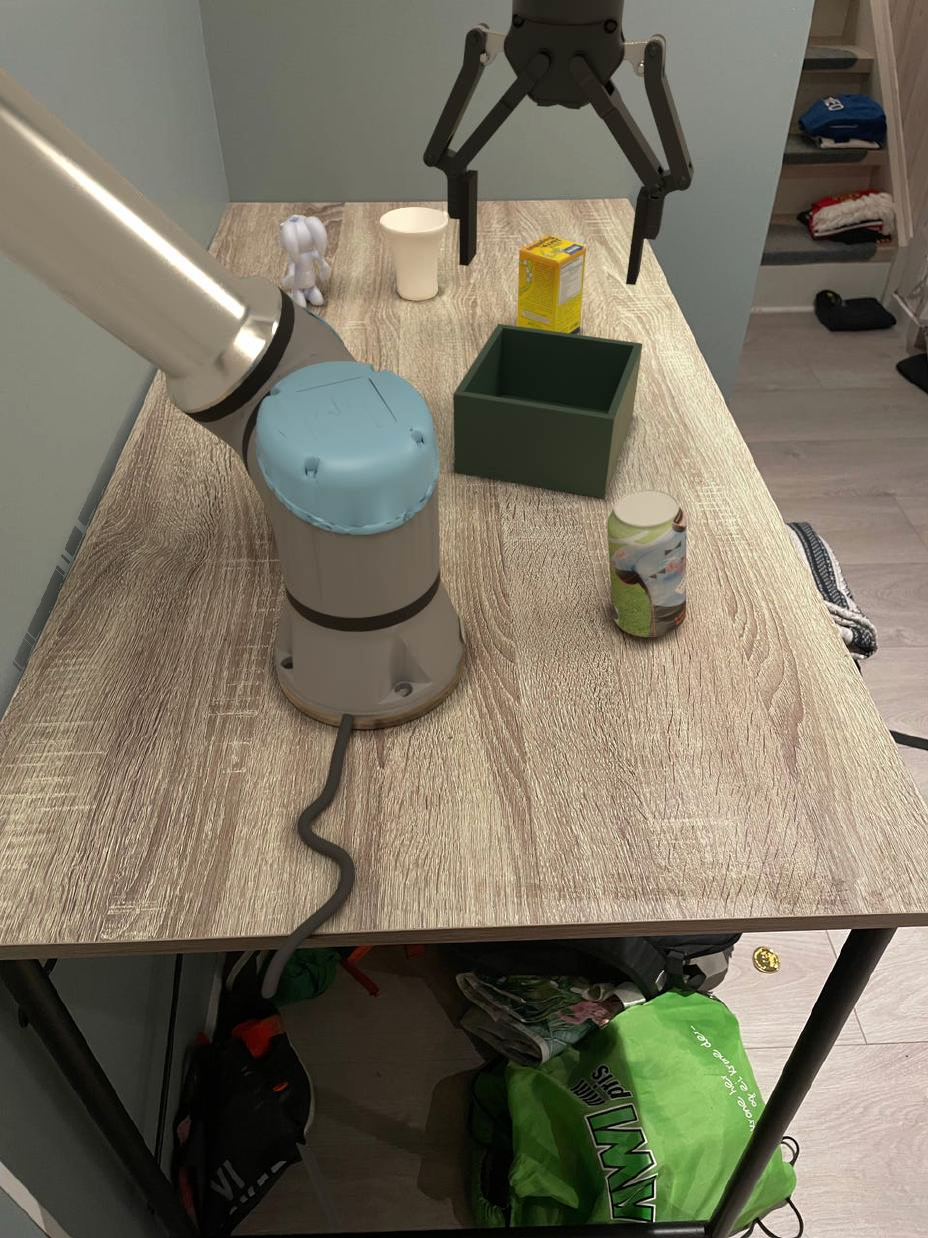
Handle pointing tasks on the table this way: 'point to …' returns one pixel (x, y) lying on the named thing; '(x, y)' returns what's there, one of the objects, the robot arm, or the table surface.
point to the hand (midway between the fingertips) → (548, 268)
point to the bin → (546, 409)
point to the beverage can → (648, 562)
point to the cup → (415, 249)
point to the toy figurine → (304, 257)
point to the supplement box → (551, 285)
